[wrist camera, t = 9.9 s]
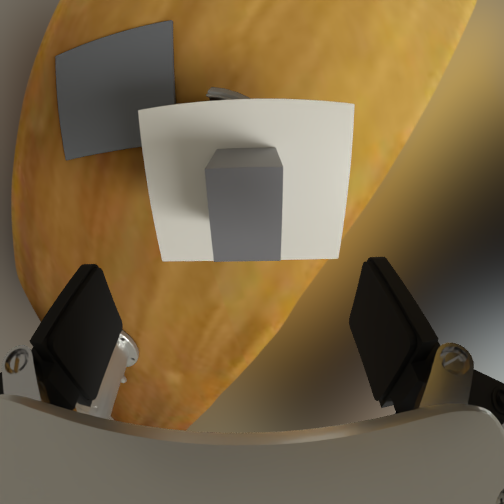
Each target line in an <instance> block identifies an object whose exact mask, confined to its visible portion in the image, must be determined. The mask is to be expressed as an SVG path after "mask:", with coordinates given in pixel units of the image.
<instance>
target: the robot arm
mask: <svg viewBox="0 0 504 504" xmlns="http://www.w3.org/2000/svg"><path fill="white" fill-rule="evenodd" d="M349 325H350V329H351V331H352V334H353V337H354V340H355V342H356V345H357V348H358V351H359V353H360V356H361V359H362V362H363V365H364V368H365V371H366V374H367V377H368V380H369V383H370V386H371V389H372V393H373V396H374V398H375V400H376V401H378V400H379V402H380V405H381V408H383V407H387V406H392V405H394V408H395V410H396V413H395V414H393V415H390V416H385V417H380V418H376V419H371V420H366V421H360V422H354V423H349V424H343V425H337V426H330V427H323V428H315V429H306V430H295V431H283V432H262V433H215V432H196V431H183V430H172V429H164V428H156V427H148V426H142V425H135V424H130V423H124V422H119V421H114V420H109V419H110V415H111V412H112V408H113V405H114V402H115V398H116V395H117V392H118V389H119V385H120V382H122V383H125V382H126V381H127V379H126V377H125V376H124V372H125V369H126V367H129V366H132V365H134V364H135V363H136V361H137V359H138V356H139V351H138V348H137V346H136V344H135V342H134V341H133V339H132V338H131V337H130V336H129V335H128V334H127V333H125V332H124V331H123V330H122V320H121V318H120V316H119V313H118V311H117V308H116V306H115V303H114V301H113V298H112V295H111V293H110V290H109V287H108V285H107V282H106V279H105V276H104V273H103V271H102V269H101V268H99V267H98V266H97V265H96V264H83V265H81V266H80V268H79V269H78V270H77V272H76V273H75V274H74V276H73V277H72V278H71V280H70V281H69V282H68V284H67V285H66V286H65V288H64V289H63V291H62V292H61V293H60V295H59V296H58V298H57V299H56V301H55V302H54V304H53V305H52V307H51V308H50V310H49V311H48V313H47V314H46V316H45V317H44V319H43V320H42V322H41V323H40V325H39V327H38V328H37V330H36V331H35V333H34V335H33V336H32V338H31V340H30V343H31V344H32V345H33V349H32V350H31V349H30V348H29V347H27V346H25V345H19V346H16V347H14V348H13V349H11V350H10V351H9V352H8V353H7V354H6V356H5V357H4V360H3V362H2V372H1V373H0V504H504V384H503V383H502V382H499V381H497V380H495V379H493V378H491V377H489V376H487V375H485V374H482V373H480V372H478V371H476V370H474V361H473V359H472V356H471V355H470V353H469V352H468V351H467V350H466V349H465V348H464V347H463V346H461V345H459V344H456V343H445V344H442V345H441V346H440V344H439V343H438V337H437V336H436V334H435V332H434V330H433V329H432V327H431V325H430V324H429V322H428V320H427V319H426V317H425V316H424V314H423V313H422V311H421V309H420V308H419V306H418V304H417V303H416V301H415V300H414V298H413V297H412V295H411V294H410V292H409V291H408V289H407V288H406V286H405V285H404V283H403V282H402V280H401V279H400V277H399V276H398V274H397V273H396V272H395V270H394V269H393V267H392V266H391V264H390V263H389V262H388V260H387V259H386V258H385V257H370V258H369V259H368V260H367V262H364V263H363V266H362V271H361V275H360V279H359V283H358V287H357V292H356V296H355V299H354V303H353V307H352V310H351V314H350V318H349Z"/></svg>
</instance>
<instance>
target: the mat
mask: <svg viewBox="0 0 504 504" xmlns="http://www.w3.org/2000/svg"><path fill="white" fill-rule="evenodd" d="M56 85H57V99H58V109H59V118H60V126H61V134H62V140H63V146H64V152H65V158H66V160H70V159H74V158H79V157H84V156H89V155H94V154H99V153H104V152H110V151H116V150H122V149H128V148H135V147H142V143H141V134H140V125H139V115H138V110H142V109H147V108H153V107H159V106H166V105H174V104H176V99H175V81H174V56H173V21H172V20H170V21H165V22H160V23H155V24H150V25H146V26H142V27H138V28H134V29H130V30H126V31H123V32H119V33H116V34H113V35H110V36H106V37H103V38H100V39H98V40H95V41H92V42H89V43H86V44H84V45H81V46H79V47H76V48H74V49H71V50H69V51H67V52H64V53H62V54H60V55H57V56H56Z"/></svg>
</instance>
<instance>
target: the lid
mask: <svg viewBox="0 0 504 504" xmlns="http://www.w3.org/2000/svg"><path fill="white" fill-rule="evenodd" d="M138 115H139V125H140V134H141V143H142V151H143V158H144V165H145V172H146V178H147V185H148V191H149V197H150V202H151V208H152V213H153V218H154V224H155V229H156V234H157V238H158V243H159V248H160V252H161V257H162V261H214V262H218V261H281V260H292V259H337V258H338V256H339V249H340V244H341V237H342V231H343V224H344V217H345V209H346V201H347V193H348V184H349V174H350V164H351V152H352V139H353V123H354V104H350V103H342V102H332V101H320V100H304V99H230V100H213V101H201V102H191V103H182V104H174V105H166V106H159V107H153V108H147V109H142V110H138Z"/></svg>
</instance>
